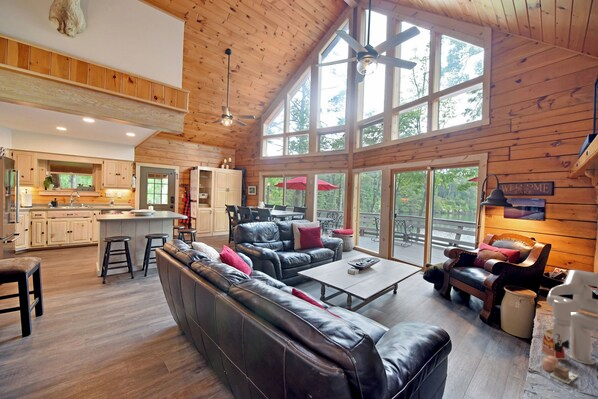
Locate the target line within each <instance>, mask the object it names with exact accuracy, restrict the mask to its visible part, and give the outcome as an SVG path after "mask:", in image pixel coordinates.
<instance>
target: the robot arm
mask: <svg viewBox="0 0 598 399" xmlns="http://www.w3.org/2000/svg"><path fill="white" fill-rule="evenodd" d="M590 286H592V287H597V288H598V273H597V272H592V271H586V270H580V269H568V271H567V275H566V277H565V279H564V281H563V283H562V284H560V285H559V284H558V285H556V286H554V287H552V288H550V290H549V292H548V294H547V297H546V304H547V305H548V306H549V307H552V323H553V326H552V328H553V335H552V338H553V339H554V350H555V351H558V352H560V353H562V346H563V347H564V349H570V350H569V351H568V352H567V353H566V356H567V357H568V358H569V359H571V360H573V361H575V362H578V363H581V364H585V365H592V366H593V365H595V364H596V363H595V362H596V361H595V360H594V359H593V358H592V335H591V334H592V333H590V331H594V332H597V333H598V299H596V298H593V290H592V288H591V287H590ZM563 295H564V296H565V295H566V296H567V295H572V299H571V298H568V297H564V296H563ZM562 296H563V297H562ZM580 311H581V312H580ZM585 312H587V313H585ZM589 313H590V314H589ZM591 314H594V315H591ZM589 330H590V331H589ZM558 339H559V340H558ZM558 341H559V342H560V343H559V342H558Z"/></svg>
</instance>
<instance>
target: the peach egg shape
mask: <svg viewBox="0 0 598 399" xmlns="http://www.w3.org/2000/svg"><path fill="white" fill-rule="evenodd" d="M546 358H548V359H550V360H552V361H553V362H554V366H556V365H557V364H558V365H559V359H558V358H556V357H554V356H551V355H548V356H547V355H546Z"/></svg>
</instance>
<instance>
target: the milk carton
mask: <svg viewBox="0 0 598 399" xmlns="http://www.w3.org/2000/svg"><path fill="white" fill-rule="evenodd" d="M552 335H553V327H552V328H548V329H546V330H544V334H543V338H542V343H541V352H542V353H544V355H546V357H547V356H548V355H551V356H554V357H556V358H558V360H566V354H565V353H566V352H565V347H563V346H562V353H560V352H558V351H555V350H554V339H553V338H552ZM558 340H559V339H558ZM558 342H559V341H558ZM559 343H560V342H559Z"/></svg>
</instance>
